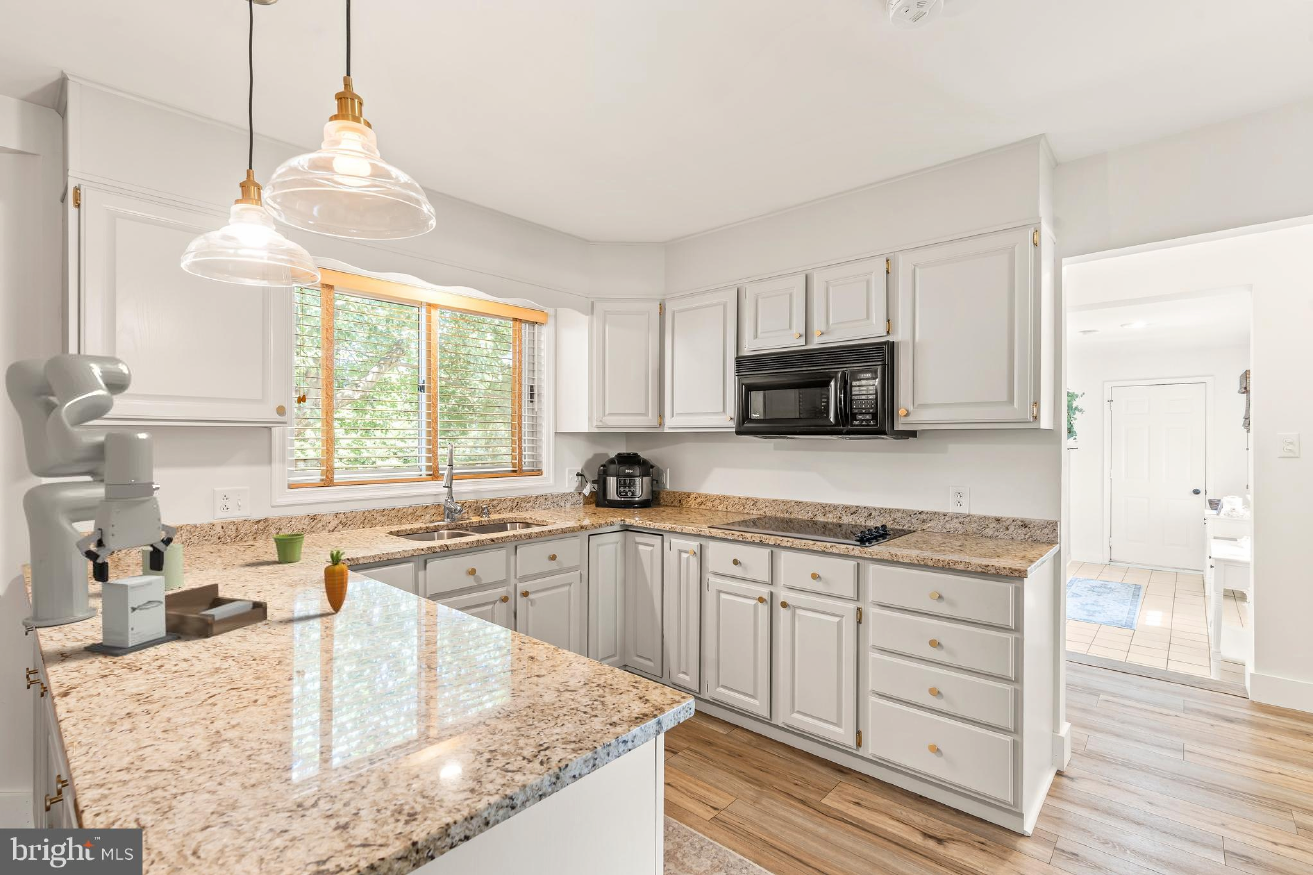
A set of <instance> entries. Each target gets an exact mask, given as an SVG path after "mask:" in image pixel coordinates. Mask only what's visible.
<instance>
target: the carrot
mask: <svg viewBox="0 0 1313 875" xmlns="http://www.w3.org/2000/svg"><path fill="white" fill-rule="evenodd" d="M341 551H342V550H341V549H337V550H336V552H335V550H334V549H333V550H330V553H329V555H330V560H331V564H329V565H327V566H326V567H324V570H323V577H324V588H325V593H326V597H327V601H328V603H329V606H330V607H331V609H332V611H333V612H334V613H335V614H338V613H339V612H340V611H341V609H342V608H343V605H344V602H345V600H346V595H347V591H348V581H349V568H348V566H347V565H346V564H343V563H340V562H341V561H342V560H343V558H342V556H344V555H345V553H346V552H345V551H342V552H341Z"/></svg>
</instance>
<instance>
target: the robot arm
mask: <svg viewBox="0 0 1313 875" xmlns="http://www.w3.org/2000/svg"><path fill="white" fill-rule="evenodd" d="M5 372H6V373H5V377H4V378H5V388H6V392H7V395H8V398H9V401H10V402H11V405H12V406H13V408H14V409H15V411H16V413H17V415H18V417H19V419H20V421H21V422H20V423H21V427H22V436H23V443H24V450H25V456H26V457H25V458H26V463H27V466H28V470H29V471H30V473H31V474H32V475H33V476H35V477H37V478H44V479H46V478H47V479H48V478H49V479H50V478H53V479H56V478H74V477H77V478H78V477H89V478H91V479H92V480H79V481H78V480H77V481H57V482H49V483H42V484H38V485H35V486H32V487H30V488H29V489H28V490H27V491H26V492H25V494H24V495H23V498H22V506H23V511H24V516H25V518H26V523H27V528H28V537H29V552H30V553H29V555H30V586H31V587H30V589H31V590H30V591H31V592H30V594H31V596H30V597H31V603H30V605H29V607H30V608H31V615H29V616H26V617H24V618H23V619H22V626H23V627H28V628H37V627H38V628H39V627H52V626H58V625H65V624H70V623H71V624H72V623H75V622H80V621H83V620H86V619H89V618H92V617H94V616H96V615H97V614H98V613H99V609H98V607H94V606H90V599H89V598H90V597H89V596H90V595H89V592H90V591H89V562H91V563H92V577H93V579H94V581H95V582H98V583H101V584H102V583H105V582H108V581H110V580H109V578H110V577H109V573H110V572H109V569H110V568H109V566H110V565H109V561H106V560H107V558H108V557H109V556H110V555H111V554H112V552H115V551H123V550H129V549H135V548H143V547H151V548H152V549H153V551H150V570H153V571H162V570H163V565H164V552H165V551H166V550H167V547H168V546H169V545H170V544H173V542H174V538H175V536H176V534H177V532H178V528H176V527H173V526H171V525H167V524H165V523H162V515H161V509H160V506H159V505H160V504H159V501H158V498H157V496H154V494H155V491H159V490H160V484H158V483H155V482H154V438H153V436H152V434H151V433H149V431H143V430H136V429H134V428H132V429H131V428H75V427H77V426H81V425H83V424H86V423H89V422H94V421H95V420H98V419H101V418H103V417H105V416H106V415H107V414H109V413H110V411H111V410H112V409H113V407H114V404H115V403H114V402H115V401H114V397H113V396H116V395H119V394H123V393H124V392H126V391H128V389H129V388H130V385H131V383H132V374H131V369H130V368H129V366H128V365H127V363H125V362H124V360H123V359H120V358H118V357H114V356H106V355H96V354H95V355H93V354H83V353H82V354H80V353H61V354H57V355H54V356H51V357H50V358H49V359H23V360H22V359H21V360H18V361H15V362H12V363H11V364H10V365H9V366H8V367H7V369H6V371H5ZM50 397H54V398H55V397H56V399H57V401H58V403H59V404H58V403H57V402H56V401H54V400H53V399H51V398H50ZM89 521H94V524H93V532H92V533H90V534H87V536H85V535H84V534H83V533H82V532H81V531H80V530H78V529H77V528H75V527H74V525H73V524H74V523H80V522H89ZM163 532H164V533H165V534H164V537H163V536H162V535H163ZM91 544H93V548H95V550H93V549H91Z"/></svg>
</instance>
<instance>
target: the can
mask: <svg viewBox="0 0 1313 875" xmlns="http://www.w3.org/2000/svg"><path fill="white" fill-rule="evenodd" d="M150 551H153V549H152V548H151V547H149V546H143V547H141V562H142V563H141V564H142V568H141V570H142V575H151V576H164V577H165V590H169V591H172V590H171V589H174V588H178V589H180V588H179V587H181V586H183V587H184V586H185V581H184V580H185V579H184V578H185V577H184V576H185V575H184V544H182V543H171V544H170V545H169V546H168V547H167V550H166V551H165V552H164V565H163V570H162V571H153V570H150ZM181 588H182V587H181ZM174 590H175V589H174Z"/></svg>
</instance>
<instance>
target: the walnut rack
mask: <svg viewBox="0 0 1313 875" xmlns="http://www.w3.org/2000/svg"><path fill="white" fill-rule="evenodd" d="M236 601H246V602H252V607H253V610H249V611H246V612H242V613H239V614H235V615H232V616H228V617H225V618H221V619H218V620H214V621H213V617H208V616H200V615H199V613H201V612H204V611H207V610H211V609H214V608H217V607H220V606H223V605H226V604H229V603H233V602H236ZM267 620H268V601H261V600H254V599H253V600H251V599H245V598H235V597H229V596H228V597H227V596H219V583H211V584H207V585H202V586H199V587H194V588H189V589H184V590H182V591H181V590H180V591H176V592H173V593H172V592H171V593H168V594H165V632H167V631H169V632H168V633H173V634H180V633H182V635H188V636H193V637H200V636H201V637H202V636H203V637H202V638H207V639H209V638H212V636H213V637H216V636H218V635H222V634H225V633H228V632H231V631H234V630H238V629H241V628H245V627H247V626H251V625H255V624H257V623H260V622H264V621H267Z"/></svg>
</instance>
